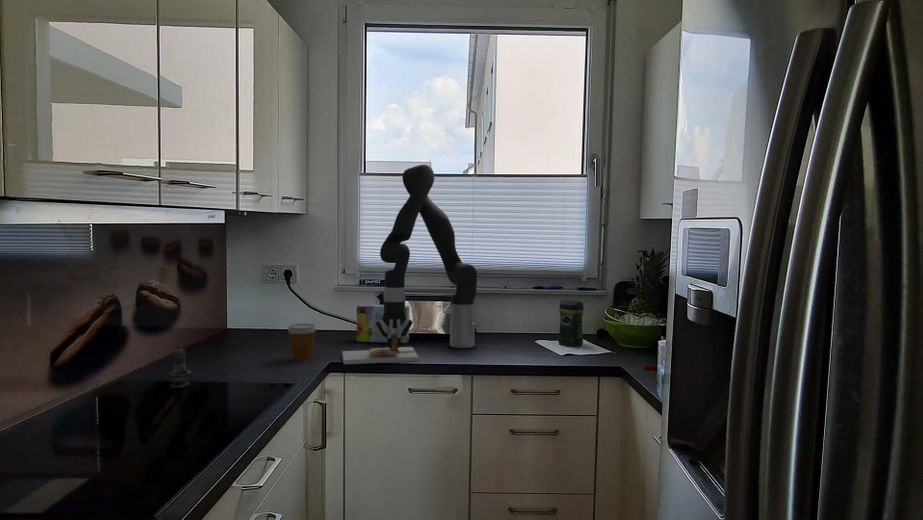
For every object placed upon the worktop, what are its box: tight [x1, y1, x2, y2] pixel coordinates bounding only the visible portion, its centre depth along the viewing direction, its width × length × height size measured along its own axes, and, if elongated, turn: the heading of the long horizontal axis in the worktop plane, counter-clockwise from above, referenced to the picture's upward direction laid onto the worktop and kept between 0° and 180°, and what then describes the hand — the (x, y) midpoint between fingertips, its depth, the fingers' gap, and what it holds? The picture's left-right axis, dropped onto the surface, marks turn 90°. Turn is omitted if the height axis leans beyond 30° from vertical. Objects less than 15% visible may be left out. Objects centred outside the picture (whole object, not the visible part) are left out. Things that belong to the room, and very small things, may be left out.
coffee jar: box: [557, 299, 585, 348], centre depth 214 cm, size 10×8×19 cm
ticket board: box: [341, 346, 420, 365], centre depth 187 cm, size 26×13×2 cm, turn 105°
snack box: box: [356, 304, 410, 344], centre depth 214 cm, size 21×6×15 cm, turn 84°
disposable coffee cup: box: [287, 323, 317, 363], centre depth 182 cm, size 10×10×12 cm
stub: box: [368, 334, 399, 356], centre depth 184 cm, size 10×5×6 cm, turn 105°
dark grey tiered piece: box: [168, 343, 192, 389], centre depth 151 cm, size 6×6×12 cm
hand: (393, 347), depth 185 cm, fingers closed on stub, 2 cm apart
